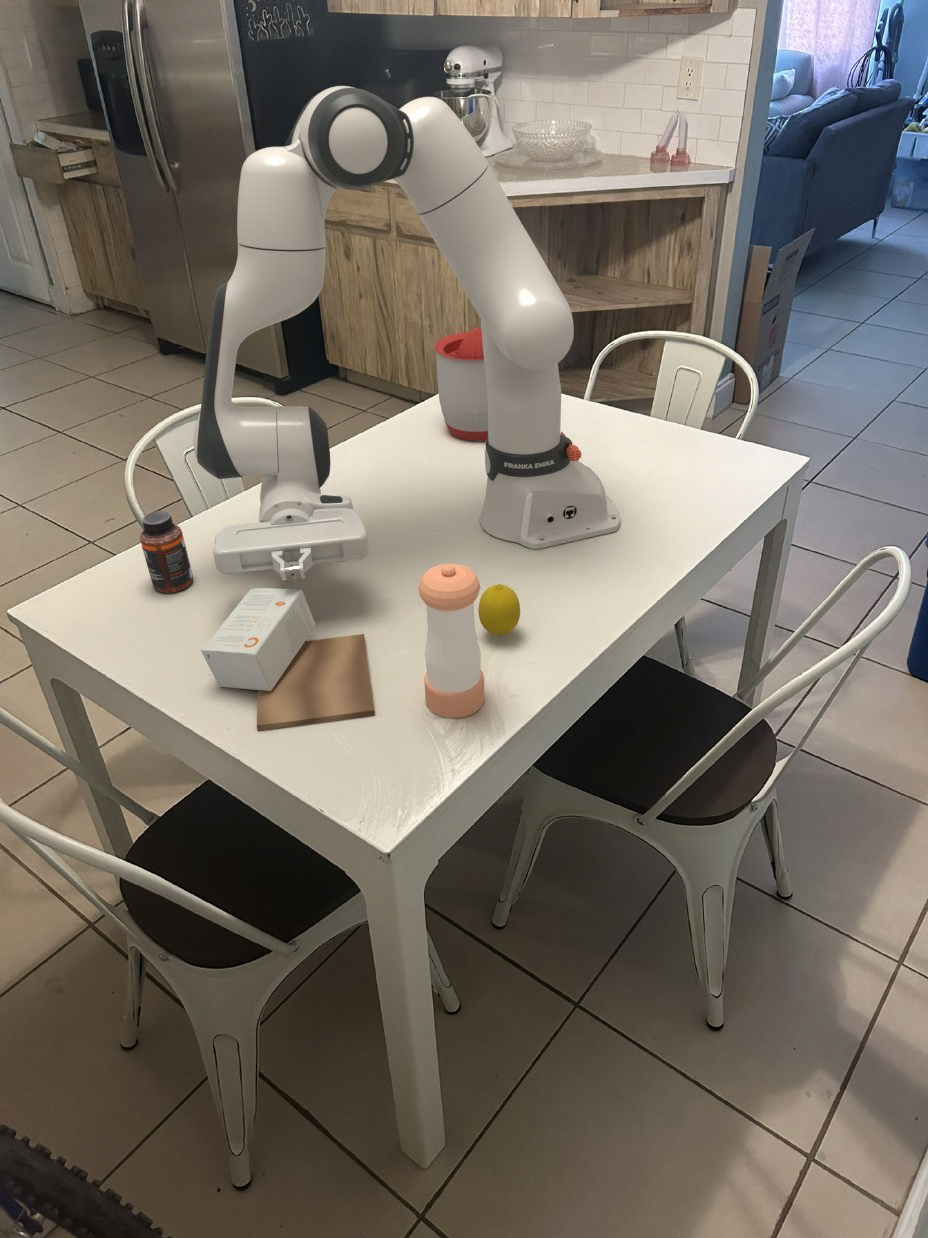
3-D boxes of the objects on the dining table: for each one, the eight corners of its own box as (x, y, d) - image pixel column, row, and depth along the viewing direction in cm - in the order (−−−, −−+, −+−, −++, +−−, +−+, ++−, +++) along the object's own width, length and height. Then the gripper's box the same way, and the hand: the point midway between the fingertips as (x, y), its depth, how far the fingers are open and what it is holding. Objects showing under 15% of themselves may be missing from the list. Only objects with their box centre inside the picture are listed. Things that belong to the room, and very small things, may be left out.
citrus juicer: (499, 455, 170) (498, 348, 159) (423, 436, 178) (416, 333, 167) (541, 425, 181) (542, 323, 170) (467, 409, 189) (463, 310, 178)
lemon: (516, 649, 121) (516, 598, 117) (475, 645, 123) (473, 594, 118) (523, 625, 126) (523, 575, 121) (483, 621, 127) (481, 572, 122)
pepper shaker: (416, 711, 112) (405, 577, 101) (438, 675, 117) (430, 545, 106) (472, 724, 110) (467, 589, 99) (492, 687, 115) (490, 555, 104)
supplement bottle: (201, 576, 139) (186, 510, 133) (179, 597, 135) (162, 529, 128) (168, 570, 141) (151, 504, 134) (145, 591, 136) (126, 524, 130)
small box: (267, 623, 126) (218, 687, 117) (251, 586, 123) (199, 649, 113) (317, 626, 123) (271, 692, 114) (303, 588, 119) (253, 654, 110)
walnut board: (364, 638, 125) (364, 633, 124) (374, 715, 112) (374, 710, 111) (259, 651, 123) (258, 647, 122) (257, 730, 110) (256, 725, 109)
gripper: (211, 510, 126) (204, 562, 115) (361, 495, 128) (369, 544, 117) (219, 550, 129) (214, 604, 118) (365, 535, 132) (373, 586, 121)
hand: (292, 574), depth 118 cm, fingers closed
